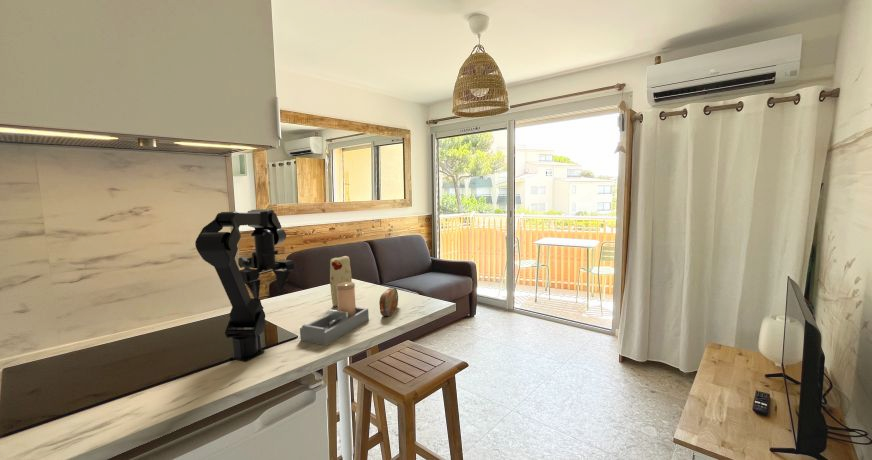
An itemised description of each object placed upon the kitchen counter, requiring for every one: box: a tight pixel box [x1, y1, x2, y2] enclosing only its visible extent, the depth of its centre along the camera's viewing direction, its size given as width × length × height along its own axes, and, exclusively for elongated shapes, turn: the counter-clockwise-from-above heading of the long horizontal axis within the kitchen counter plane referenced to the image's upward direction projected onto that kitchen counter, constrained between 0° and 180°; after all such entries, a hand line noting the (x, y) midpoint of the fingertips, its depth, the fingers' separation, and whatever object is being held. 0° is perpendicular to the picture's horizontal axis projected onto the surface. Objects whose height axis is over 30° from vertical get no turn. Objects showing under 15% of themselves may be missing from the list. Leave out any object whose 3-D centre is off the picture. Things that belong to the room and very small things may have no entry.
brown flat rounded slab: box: [379, 287, 399, 317], centre depth 138 cm, size 15×3×8 cm, turn 168°
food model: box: [329, 255, 353, 307], centre depth 147 cm, size 10×7×20 cm
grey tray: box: [299, 306, 370, 346], centre depth 122 cm, size 23×10×5 cm, turn 157°
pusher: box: [327, 309, 348, 326], centre depth 121 cm, size 5×7×5 cm
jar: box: [336, 281, 357, 318], centre depth 127 cm, size 6×6×13 cm
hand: (268, 295), depth 118 cm, fingers open, 9 cm apart
